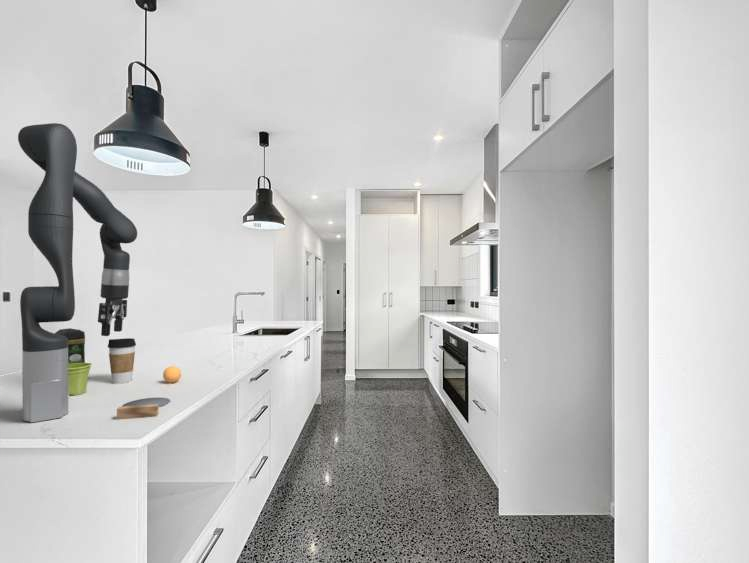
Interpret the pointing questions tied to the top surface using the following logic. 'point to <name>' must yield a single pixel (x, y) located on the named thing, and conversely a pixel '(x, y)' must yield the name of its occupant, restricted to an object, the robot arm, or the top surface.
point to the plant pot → (78, 377)
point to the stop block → (137, 411)
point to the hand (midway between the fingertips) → (111, 333)
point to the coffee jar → (74, 344)
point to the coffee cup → (121, 359)
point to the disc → (148, 402)
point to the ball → (172, 374)
